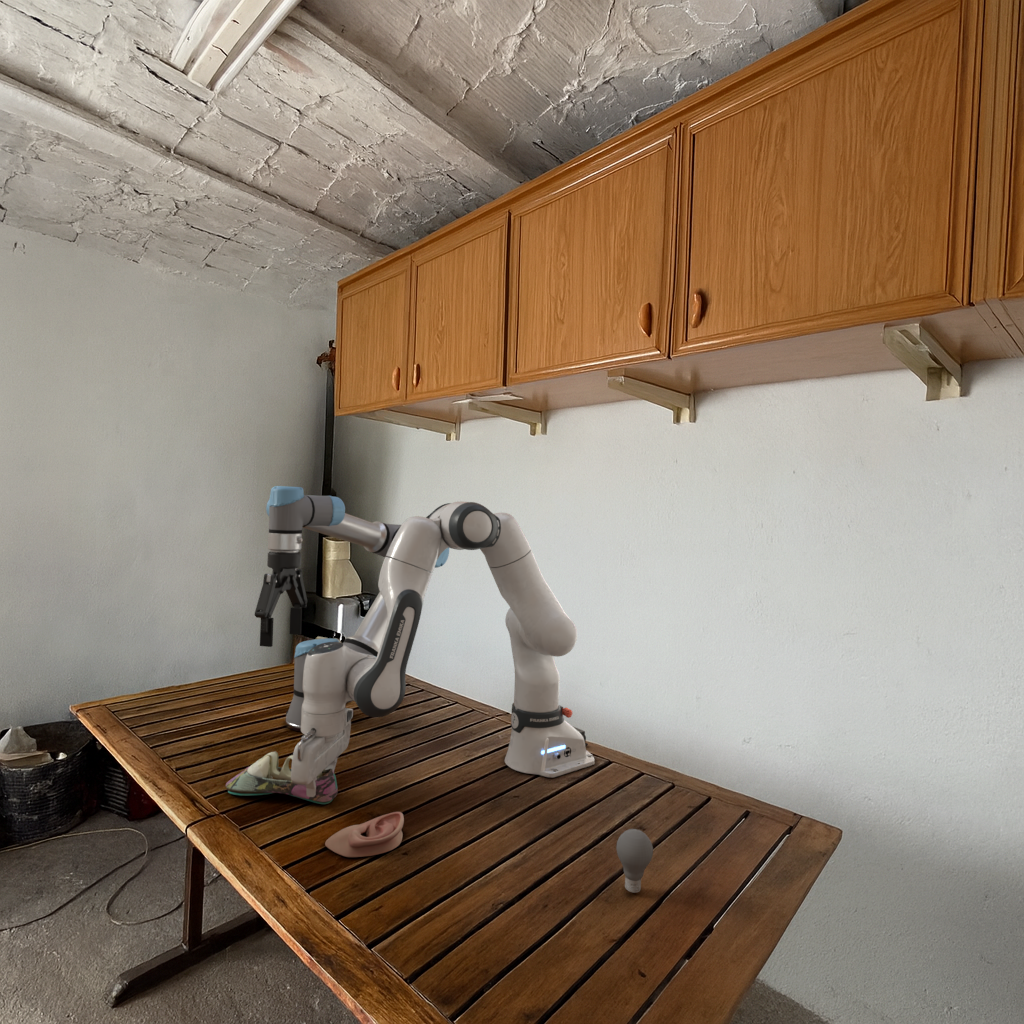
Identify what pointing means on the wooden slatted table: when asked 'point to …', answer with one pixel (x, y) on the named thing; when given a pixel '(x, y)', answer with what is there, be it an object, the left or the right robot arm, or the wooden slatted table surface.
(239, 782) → the ballet flat
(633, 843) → the light bulb
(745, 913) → the wooden slatted table surface
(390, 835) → the anatomical model
